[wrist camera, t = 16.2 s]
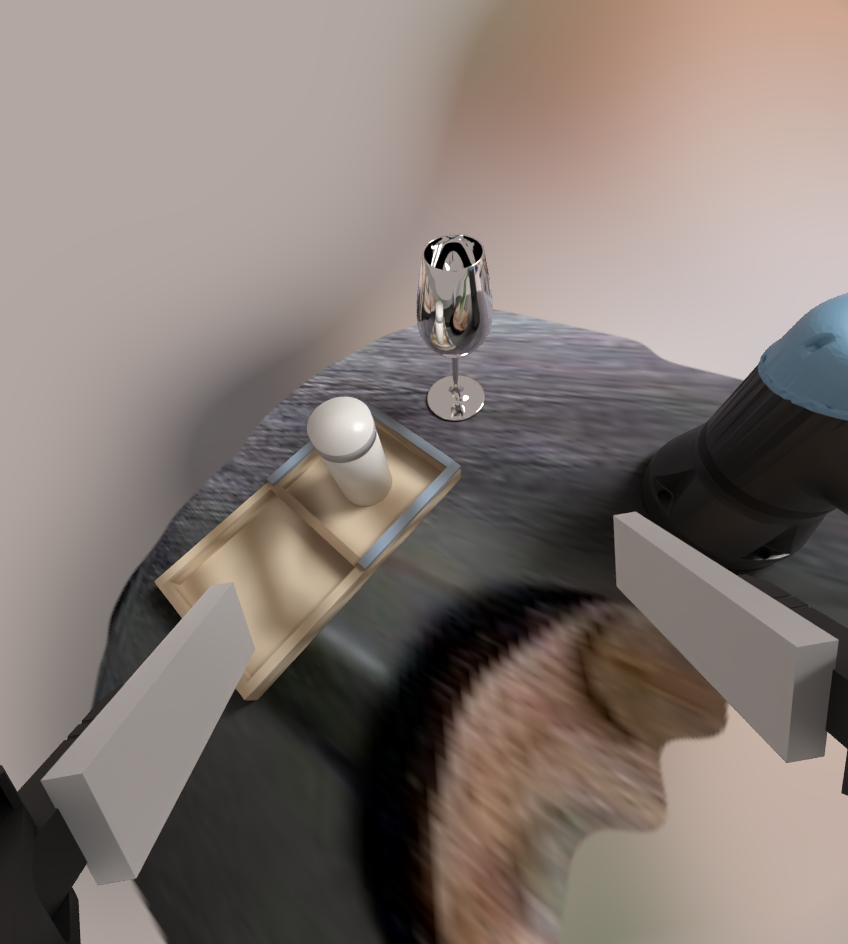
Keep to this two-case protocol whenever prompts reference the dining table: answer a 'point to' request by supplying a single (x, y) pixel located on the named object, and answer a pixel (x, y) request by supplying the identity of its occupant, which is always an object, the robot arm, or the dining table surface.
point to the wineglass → (454, 317)
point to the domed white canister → (351, 449)
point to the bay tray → (308, 546)
